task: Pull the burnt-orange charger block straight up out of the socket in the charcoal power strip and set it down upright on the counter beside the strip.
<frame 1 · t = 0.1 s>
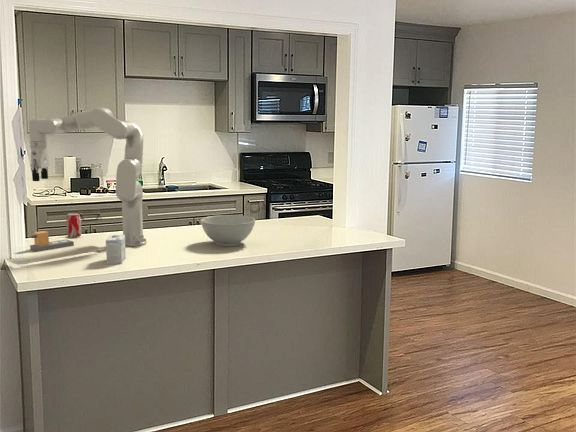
hand: (40, 179, 318), 31 cm above the countertop, tool pointing down, fingers open, 9 cm apart
soda can: (74, 237, 336), on the countertop
power strip: (52, 250, 305), on the countertop
decorative bowl: (228, 244, 322), on the countertop
charger: (42, 249, 301), point 1 cm above the countertop, touching power strip
light grey box: (116, 261, 286), on the countertop
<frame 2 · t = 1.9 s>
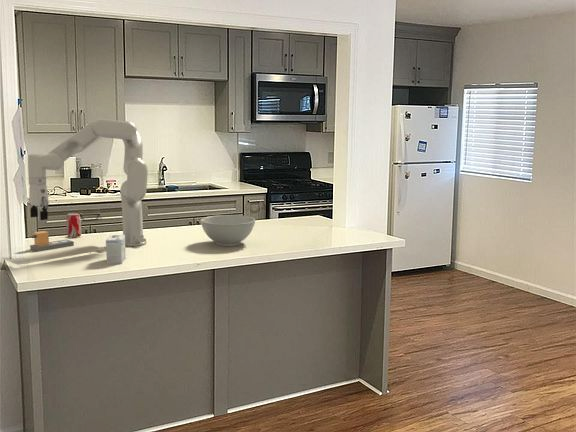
hand: (39, 218, 298), 16 cm above the countertop, tool pointing down, fingers open, 9 cm apart
nothing on the countertop moved.
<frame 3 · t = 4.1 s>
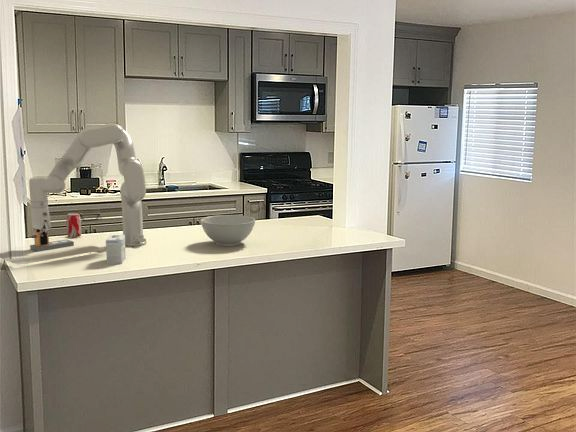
hand: (41, 243, 301), 4 cm above the countertop, tool pointing down, fingers closed on charger, 4 cm apart
charger: (42, 249, 301), point 2 cm above the countertop, touching gripper, power strip
everything else where it was.
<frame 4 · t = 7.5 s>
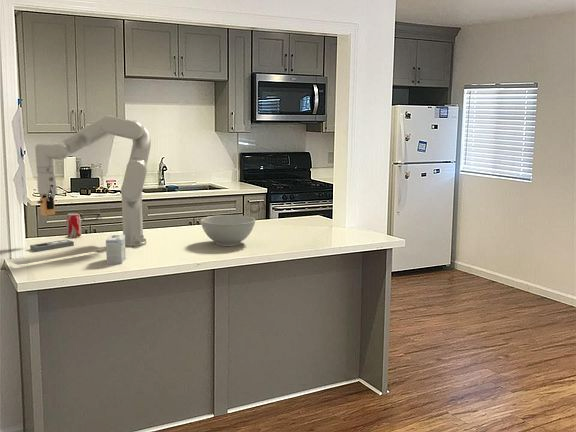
hand: (47, 208, 309), 19 cm above the countertop, tool pointing down, fingers closed on charger, 4 cm apart
charger: (48, 214, 309), point 16 cm above the countertop, touching gripper
everything else where it was.
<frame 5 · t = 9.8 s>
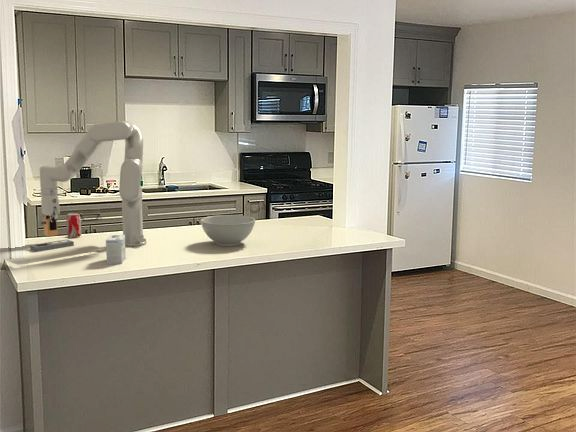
hand: (51, 228, 314), 8 cm above the countertop, tool pointing down, fingers closed on charger, 4 cm apart
charger: (51, 235, 314), point 5 cm above the countertop, touching gripper
everything else where it was.
when the fingers open (4 cm above the countertop, at t = 11.4 s): charger drops 2 cm, on the countertop.
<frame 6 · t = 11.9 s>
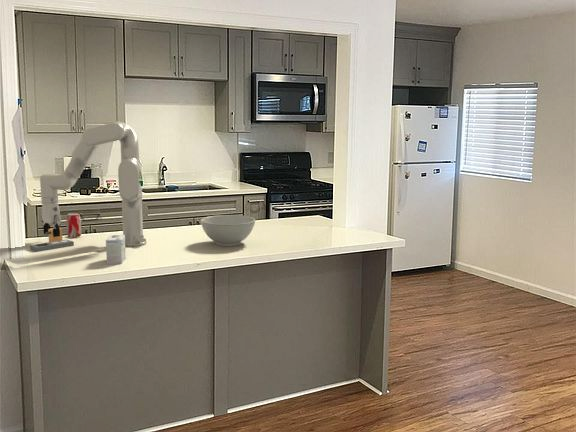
hand: (51, 235, 314), 5 cm above the countertop, tool pointing down, fingers open, 9 cm apart
charger: (55, 245, 317), on the countertop
everything else where it was.
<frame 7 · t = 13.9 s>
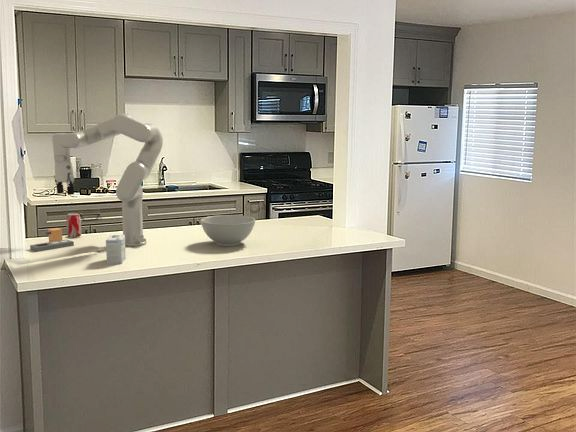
hand: (65, 193, 318), 24 cm above the countertop, tool pointing down, fingers open, 9 cm apart
nothing on the countertop moved.
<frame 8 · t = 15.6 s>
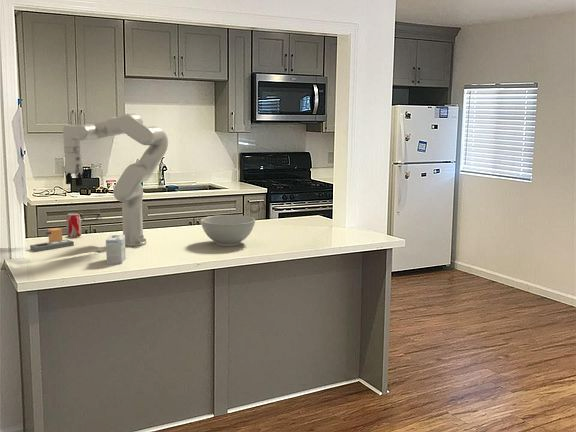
hand: (74, 184, 322), 28 cm above the countertop, tool pointing down, fingers open, 9 cm apart
nothing on the countertop moved.
at the end: charger touching countertop; charger inside the target area on the countertop beside the power strip (1.7 cm from its centre), on the countertop; charger tilted 0° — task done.
